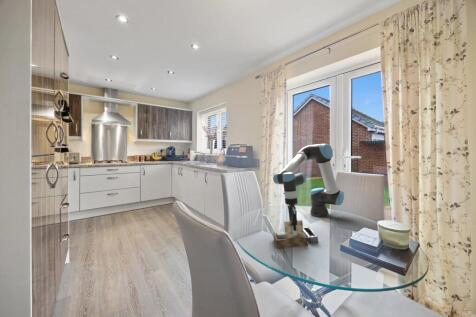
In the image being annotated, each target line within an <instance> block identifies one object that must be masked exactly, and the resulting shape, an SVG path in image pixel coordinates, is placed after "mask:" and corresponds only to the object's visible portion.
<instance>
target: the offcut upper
mask: <svg viewBox="0 0 476 317" xmlns="http://www.w3.org/2000/svg"><path fill="white" fill-rule="evenodd" d="M275 234H276V237H277V238H285V237H286V236H285V230H283V231H276V232H275Z"/></svg>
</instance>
